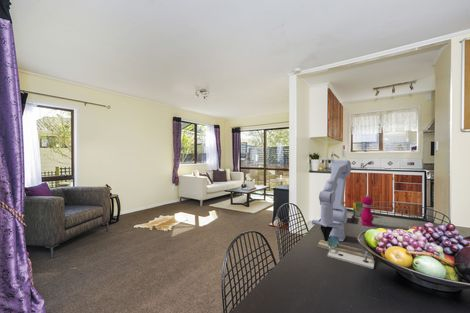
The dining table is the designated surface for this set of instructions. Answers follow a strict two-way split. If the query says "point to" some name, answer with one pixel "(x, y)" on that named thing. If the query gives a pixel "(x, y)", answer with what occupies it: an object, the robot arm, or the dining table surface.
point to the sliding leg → (333, 242)
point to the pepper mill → (367, 211)
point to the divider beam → (347, 250)
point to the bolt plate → (351, 258)
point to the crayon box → (358, 208)
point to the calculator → (350, 217)
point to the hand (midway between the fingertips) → (326, 240)
